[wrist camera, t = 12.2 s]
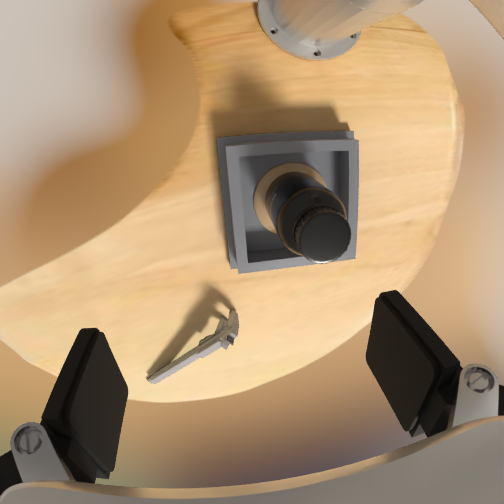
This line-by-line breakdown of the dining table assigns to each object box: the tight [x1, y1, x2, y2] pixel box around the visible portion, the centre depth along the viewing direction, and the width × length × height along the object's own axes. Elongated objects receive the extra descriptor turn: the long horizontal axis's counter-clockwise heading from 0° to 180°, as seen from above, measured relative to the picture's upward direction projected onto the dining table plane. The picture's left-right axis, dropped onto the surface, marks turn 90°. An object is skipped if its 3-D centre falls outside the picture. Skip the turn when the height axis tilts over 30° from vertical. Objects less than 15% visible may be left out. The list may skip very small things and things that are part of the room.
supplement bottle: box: [265, 172, 352, 264], centre depth 31 cm, size 7×7×12 cm
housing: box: [217, 131, 359, 274], centre depth 36 cm, size 16×16×4 cm
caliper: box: [147, 309, 239, 384], centre depth 43 cm, size 20×1×6 cm, turn 133°
